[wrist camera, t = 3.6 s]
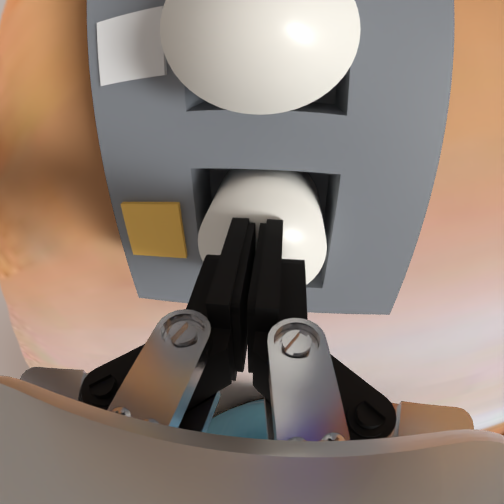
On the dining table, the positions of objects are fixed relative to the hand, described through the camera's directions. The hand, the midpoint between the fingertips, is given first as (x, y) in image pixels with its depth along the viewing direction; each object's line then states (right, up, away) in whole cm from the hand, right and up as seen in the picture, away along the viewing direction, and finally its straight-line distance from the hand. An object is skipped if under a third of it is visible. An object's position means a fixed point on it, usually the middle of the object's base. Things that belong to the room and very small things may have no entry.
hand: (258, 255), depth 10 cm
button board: (+1, +9, 0) cm, 9 cm away
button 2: (0, +2, +3) cm, 4 cm away
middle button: (0, +7, -3) cm, 8 cm away
